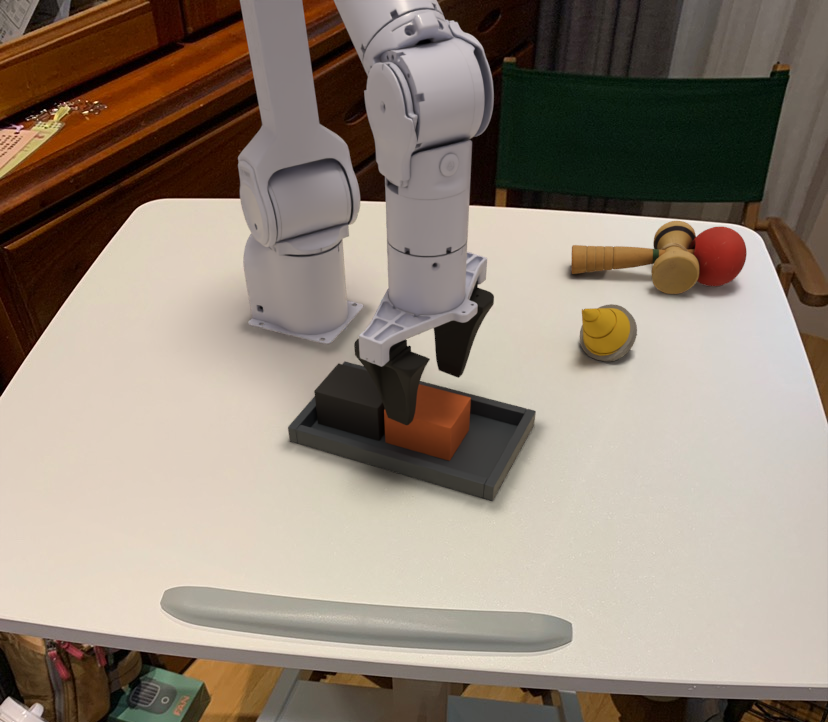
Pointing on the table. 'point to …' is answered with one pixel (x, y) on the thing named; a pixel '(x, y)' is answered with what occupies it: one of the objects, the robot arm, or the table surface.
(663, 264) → the kendama
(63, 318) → the table surface
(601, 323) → the spiral yellow cone
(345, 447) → the tray
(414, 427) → the orange block
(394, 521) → the table surface
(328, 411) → the black block
